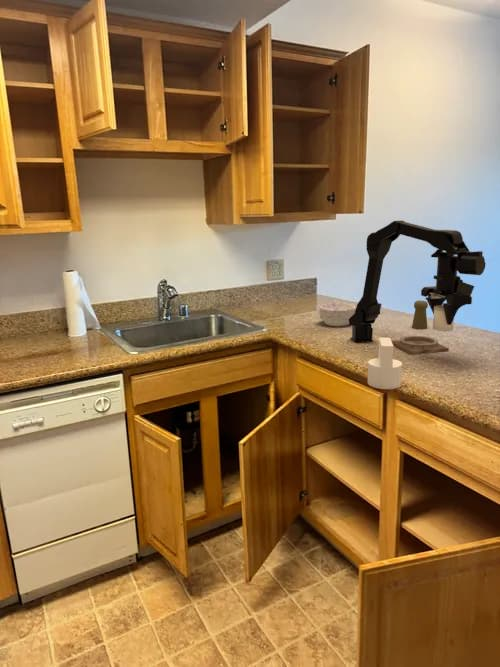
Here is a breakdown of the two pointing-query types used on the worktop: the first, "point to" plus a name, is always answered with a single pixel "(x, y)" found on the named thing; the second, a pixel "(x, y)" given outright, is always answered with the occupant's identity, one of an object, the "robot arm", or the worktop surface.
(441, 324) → the cap
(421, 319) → the brown pepper mill
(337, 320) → the white bowl
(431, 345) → the collar base
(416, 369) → the worktop surface
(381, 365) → the cylinder with rectangular tab
